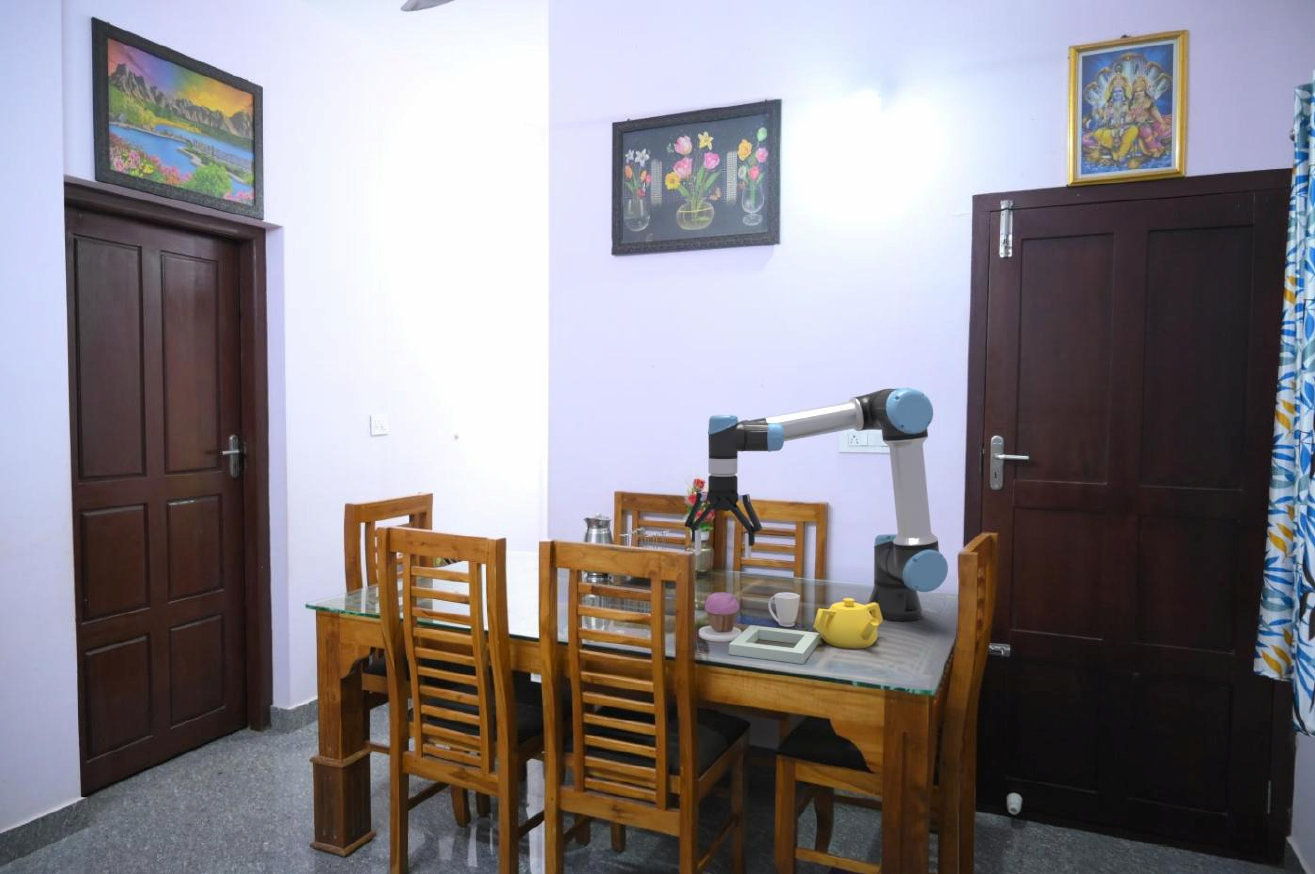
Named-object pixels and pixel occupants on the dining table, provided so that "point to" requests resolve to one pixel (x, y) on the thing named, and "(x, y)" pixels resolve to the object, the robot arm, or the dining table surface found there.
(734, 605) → the cupcake
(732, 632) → the plate
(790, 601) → the cup
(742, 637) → the frame
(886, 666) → the dining table surface
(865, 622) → the teapot
